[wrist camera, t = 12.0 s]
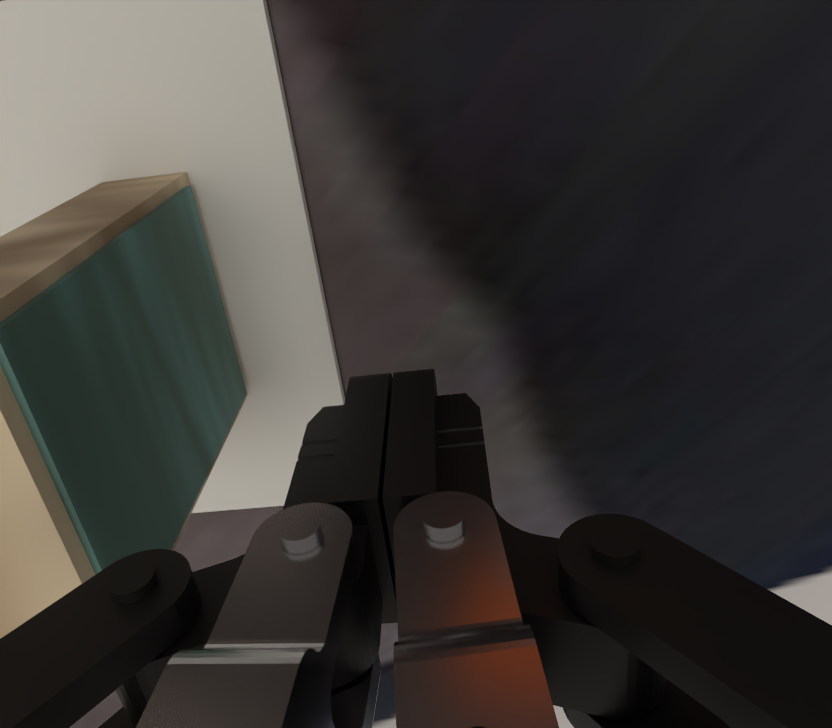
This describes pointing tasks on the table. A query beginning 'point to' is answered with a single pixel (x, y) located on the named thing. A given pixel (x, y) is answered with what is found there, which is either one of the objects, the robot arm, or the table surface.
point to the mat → (209, 178)
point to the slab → (106, 385)
